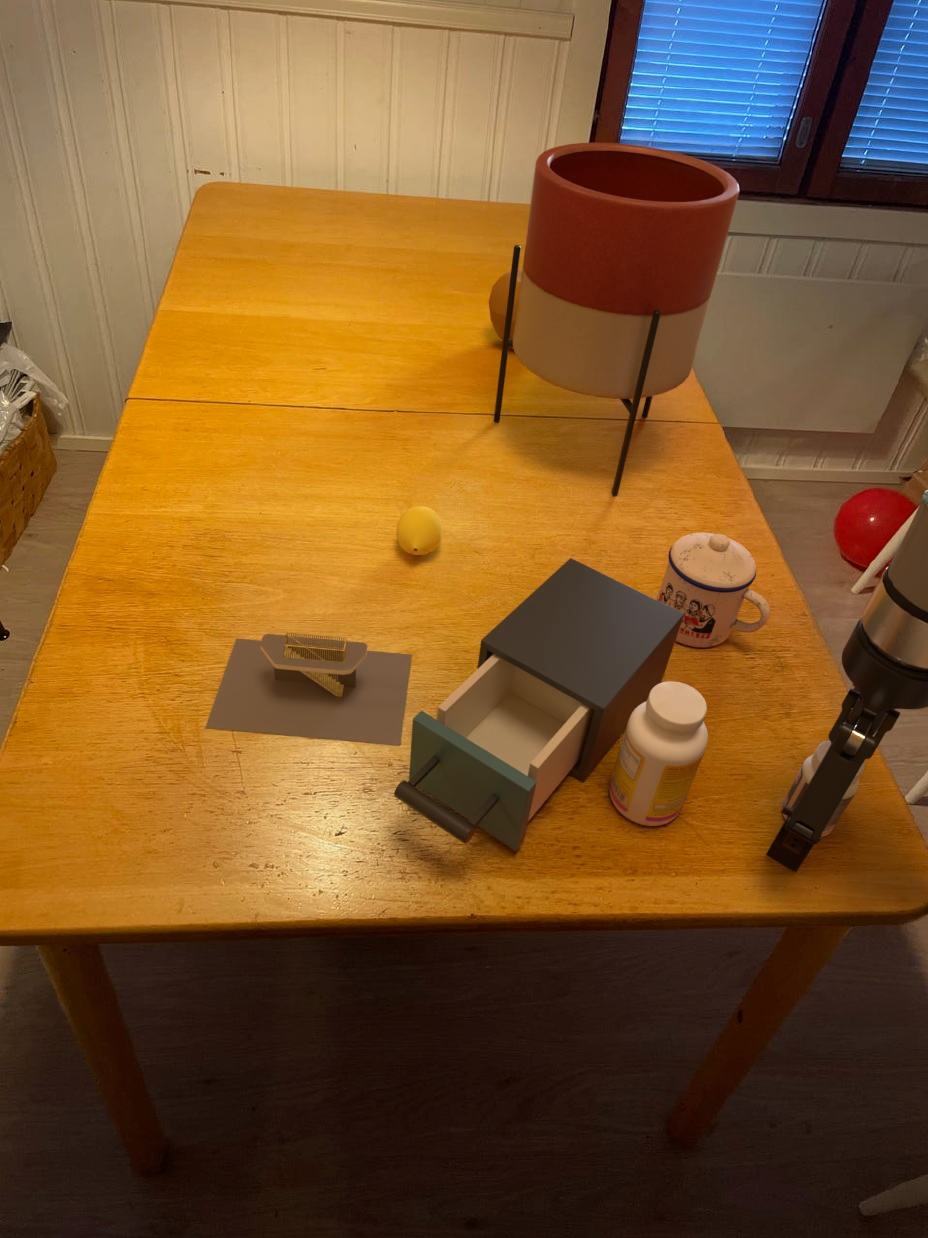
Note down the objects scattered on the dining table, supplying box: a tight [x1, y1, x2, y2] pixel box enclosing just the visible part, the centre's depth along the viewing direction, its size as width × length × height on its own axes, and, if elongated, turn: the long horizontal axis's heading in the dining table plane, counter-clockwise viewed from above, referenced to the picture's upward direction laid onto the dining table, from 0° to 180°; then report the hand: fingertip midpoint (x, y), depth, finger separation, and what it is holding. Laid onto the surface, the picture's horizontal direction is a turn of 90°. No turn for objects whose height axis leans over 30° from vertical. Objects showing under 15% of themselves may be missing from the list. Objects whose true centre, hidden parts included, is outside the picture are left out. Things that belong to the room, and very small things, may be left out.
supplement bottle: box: [608, 680, 709, 827], centre depth 75 cm, size 7×7×13 cm
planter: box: [493, 142, 740, 497], centre depth 112 cm, size 24×25×35 cm
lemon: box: [395, 505, 444, 556], centre depth 101 cm, size 7×5×5 cm
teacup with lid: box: [656, 532, 771, 648], centre depth 93 cm, size 12×9×12 cm
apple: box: [488, 268, 523, 351], centre depth 142 cm, size 13×13×11 cm
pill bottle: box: [781, 739, 866, 838], centre depth 76 cm, size 5×5×8 cm
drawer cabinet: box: [476, 557, 684, 783], centre depth 84 cm, size 16×13×10 cm
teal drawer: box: [393, 654, 595, 851], centre depth 75 cm, size 19×11×8 cm, turn 144°
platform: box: [204, 631, 413, 746], centre depth 83 cm, size 12×18×7 cm, turn 87°
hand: (809, 809), depth 79 cm, fingers open, 13 cm apart
